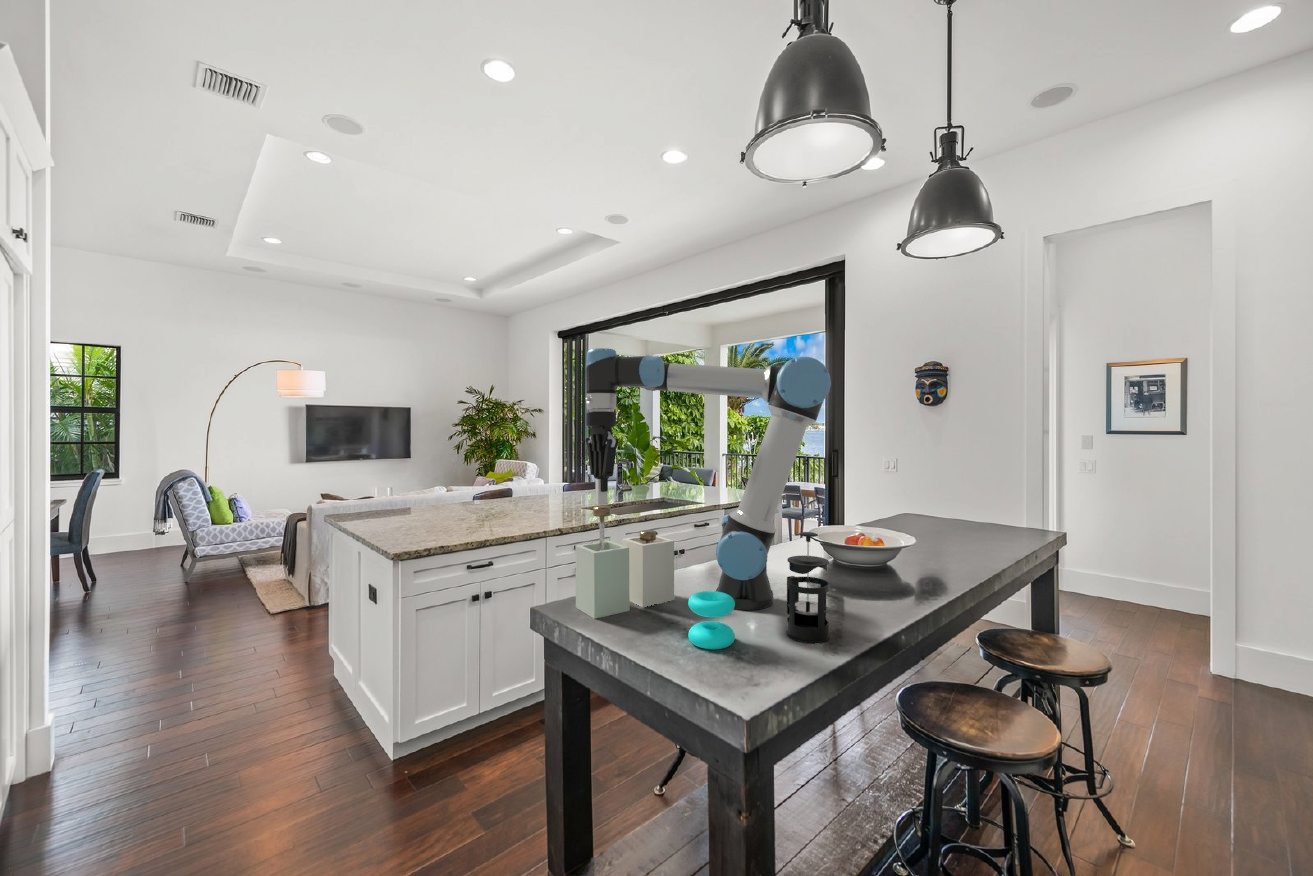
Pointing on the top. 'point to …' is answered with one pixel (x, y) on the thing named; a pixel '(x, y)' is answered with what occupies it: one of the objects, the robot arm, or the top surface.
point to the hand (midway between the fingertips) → (601, 504)
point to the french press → (806, 615)
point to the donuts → (711, 631)
